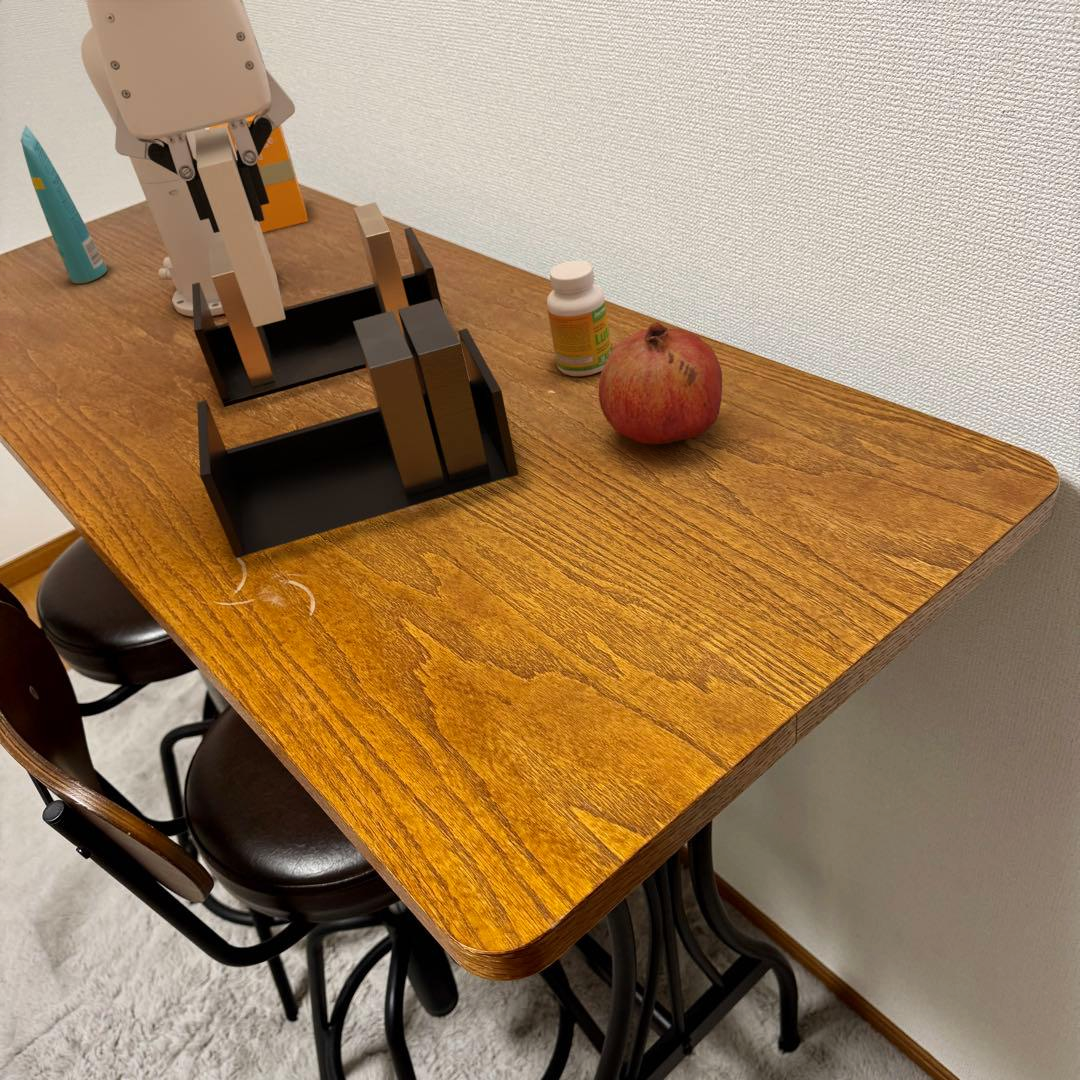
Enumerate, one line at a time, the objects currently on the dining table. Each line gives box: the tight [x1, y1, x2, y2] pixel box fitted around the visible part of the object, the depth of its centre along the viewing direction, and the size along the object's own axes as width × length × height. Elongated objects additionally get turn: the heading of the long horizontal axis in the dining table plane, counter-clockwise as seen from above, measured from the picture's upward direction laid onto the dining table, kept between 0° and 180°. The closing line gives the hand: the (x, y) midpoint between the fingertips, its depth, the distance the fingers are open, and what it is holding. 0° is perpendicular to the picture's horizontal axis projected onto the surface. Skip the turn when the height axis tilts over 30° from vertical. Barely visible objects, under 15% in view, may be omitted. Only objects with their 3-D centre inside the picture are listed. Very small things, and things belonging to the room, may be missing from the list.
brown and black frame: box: [192, 202, 444, 408], centre depth 107 cm, size 24×12×13 cm, turn 106°
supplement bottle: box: [546, 260, 612, 377], centre depth 98 cm, size 5×5×10 cm
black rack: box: [196, 299, 519, 559], centre depth 86 cm, size 24×12×13 cm, turn 106°
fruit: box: [598, 321, 723, 445], centre depth 86 cm, size 11×10×10 cm
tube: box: [19, 125, 108, 284], centre depth 135 cm, size 7×5×19 cm, turn 23°
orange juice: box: [208, 111, 309, 233], centre depth 141 cm, size 8×9×20 cm
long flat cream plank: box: [195, 126, 285, 327], centre depth 78 cm, size 2×9×12 cm, turn 16°
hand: (237, 218), depth 77 cm, fingers closed on long flat cream plank, 2 cm apart
